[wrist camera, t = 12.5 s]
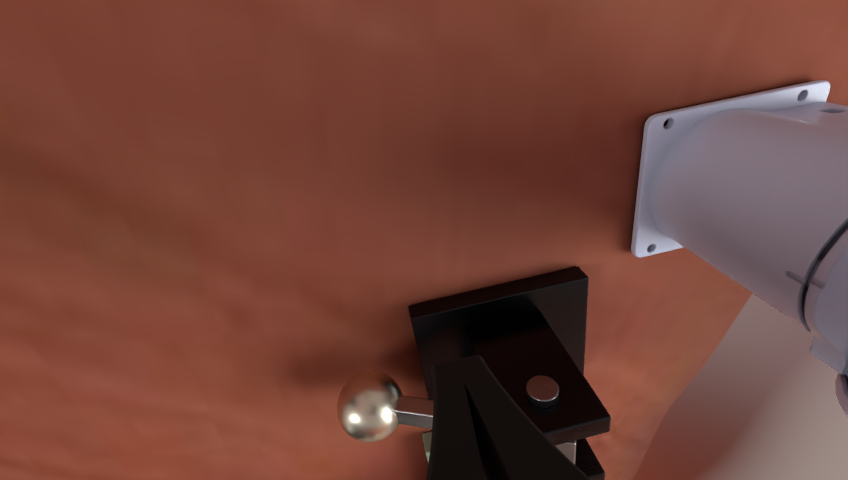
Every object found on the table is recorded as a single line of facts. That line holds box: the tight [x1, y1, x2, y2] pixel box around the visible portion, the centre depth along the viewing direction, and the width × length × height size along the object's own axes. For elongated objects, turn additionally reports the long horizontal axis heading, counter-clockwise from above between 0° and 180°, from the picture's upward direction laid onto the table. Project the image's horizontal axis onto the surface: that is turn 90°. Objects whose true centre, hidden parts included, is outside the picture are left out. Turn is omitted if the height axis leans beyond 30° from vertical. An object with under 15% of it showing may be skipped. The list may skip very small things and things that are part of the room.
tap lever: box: [337, 371, 576, 464], centre depth 21 cm, size 12×4×4 cm, turn 99°
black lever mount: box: [408, 267, 611, 480], centre depth 21 cm, size 10×8×8 cm
